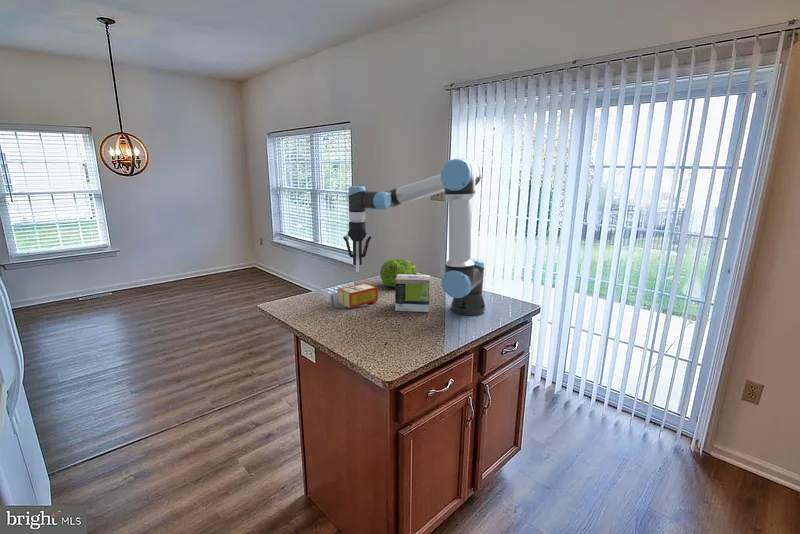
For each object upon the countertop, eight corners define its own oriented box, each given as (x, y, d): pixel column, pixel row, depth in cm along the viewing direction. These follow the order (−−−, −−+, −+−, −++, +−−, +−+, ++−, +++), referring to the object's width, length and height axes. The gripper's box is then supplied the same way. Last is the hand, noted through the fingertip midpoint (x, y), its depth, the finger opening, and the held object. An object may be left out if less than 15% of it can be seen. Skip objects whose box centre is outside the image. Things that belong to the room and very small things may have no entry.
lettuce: (422, 289, 214) (423, 262, 215) (403, 286, 196) (405, 256, 197) (396, 289, 222) (398, 262, 223) (376, 286, 204) (378, 257, 205)
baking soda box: (377, 287, 181) (349, 294, 171) (377, 300, 183) (349, 308, 172) (365, 283, 188) (336, 289, 178) (365, 296, 190) (337, 302, 179)
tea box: (429, 305, 181) (430, 274, 177) (428, 313, 171) (430, 280, 167) (396, 303, 182) (397, 272, 178) (394, 311, 172) (395, 278, 169)
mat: (367, 306, 177) (367, 305, 177) (334, 308, 174) (334, 306, 174) (362, 293, 196) (362, 291, 196) (332, 294, 193) (332, 293, 193)
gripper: (370, 219, 182) (370, 269, 188) (342, 220, 179) (342, 270, 185) (372, 221, 175) (372, 273, 180) (343, 222, 172) (343, 274, 178)
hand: (357, 271), depth 183 cm, fingers closed
